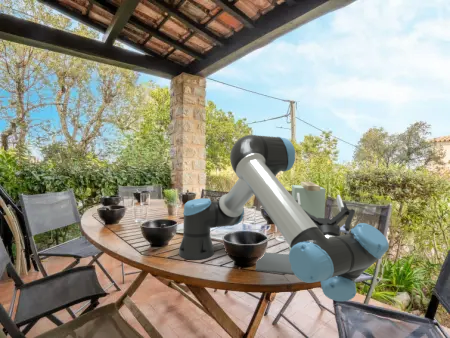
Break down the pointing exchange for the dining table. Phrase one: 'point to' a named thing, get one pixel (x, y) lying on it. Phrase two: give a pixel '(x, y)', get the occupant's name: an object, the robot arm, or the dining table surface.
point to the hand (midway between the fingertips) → (317, 196)
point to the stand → (310, 201)
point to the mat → (274, 263)
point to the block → (310, 186)
